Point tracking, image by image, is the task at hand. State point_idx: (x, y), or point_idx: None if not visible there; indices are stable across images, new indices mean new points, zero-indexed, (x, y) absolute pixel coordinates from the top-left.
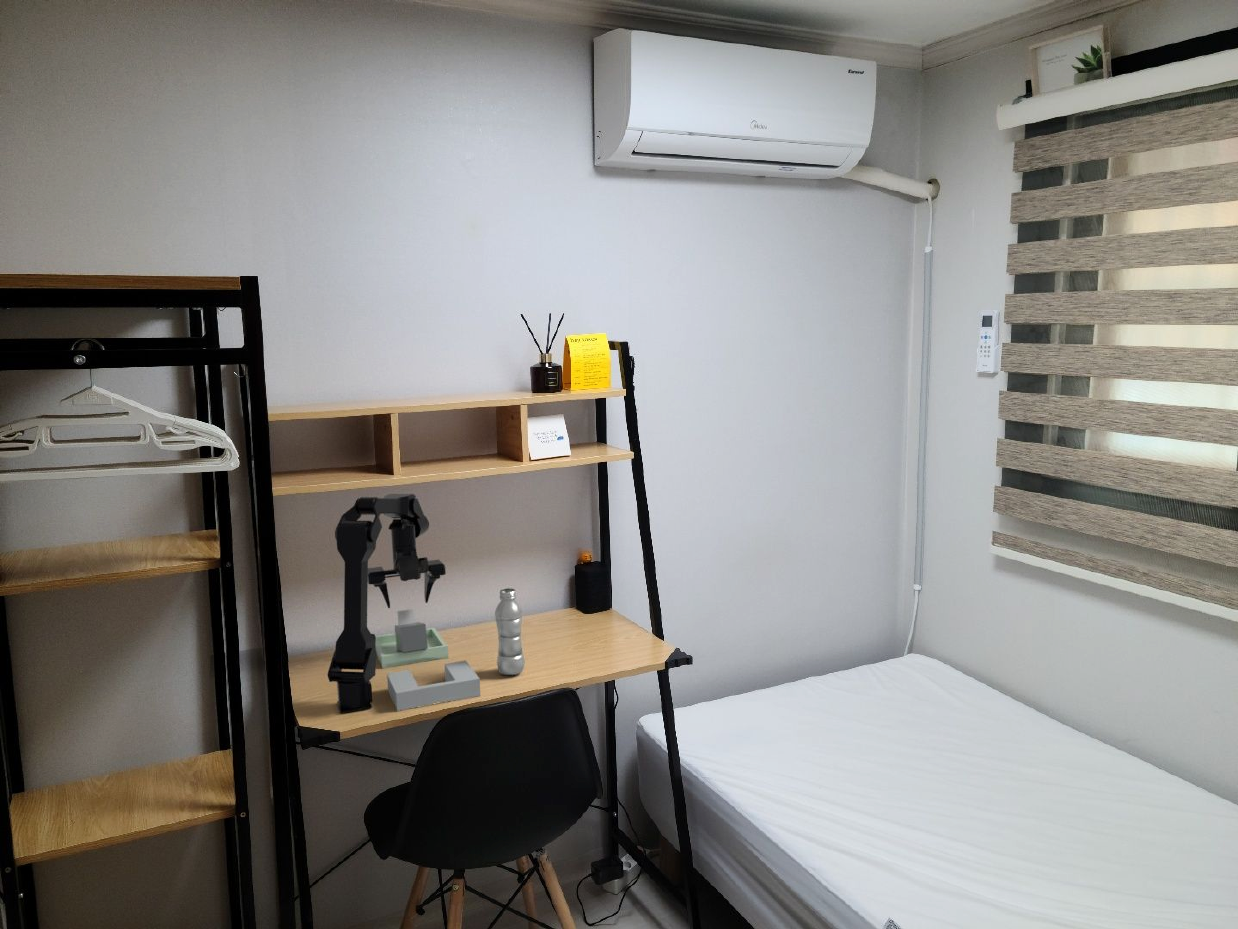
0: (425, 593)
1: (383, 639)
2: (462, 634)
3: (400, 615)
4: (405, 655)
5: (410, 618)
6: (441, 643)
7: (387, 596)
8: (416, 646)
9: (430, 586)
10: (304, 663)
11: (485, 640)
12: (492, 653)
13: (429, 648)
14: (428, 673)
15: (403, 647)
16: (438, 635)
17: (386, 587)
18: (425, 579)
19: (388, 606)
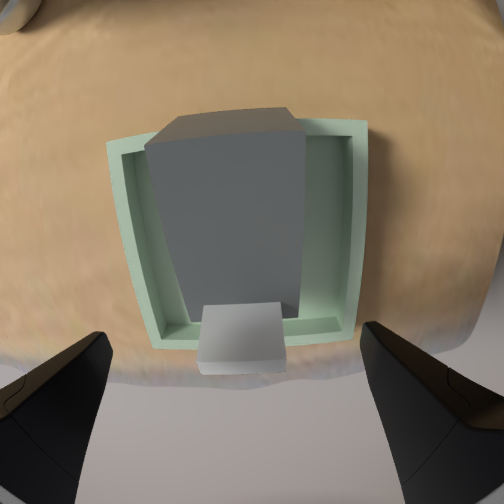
0: (80, 386)
1: (318, 326)
2: (95, 323)
3: (273, 339)
4: None
5: (223, 324)
6: (124, 180)
7: (424, 373)
8: (224, 112)
9: (6, 393)
10: (488, 267)
11: (40, 255)
12: (25, 146)
13: None
14: (207, 21)
15: (283, 111)
16: (134, 272)
17: (497, 426)
18: (55, 482)
19: (380, 326)
